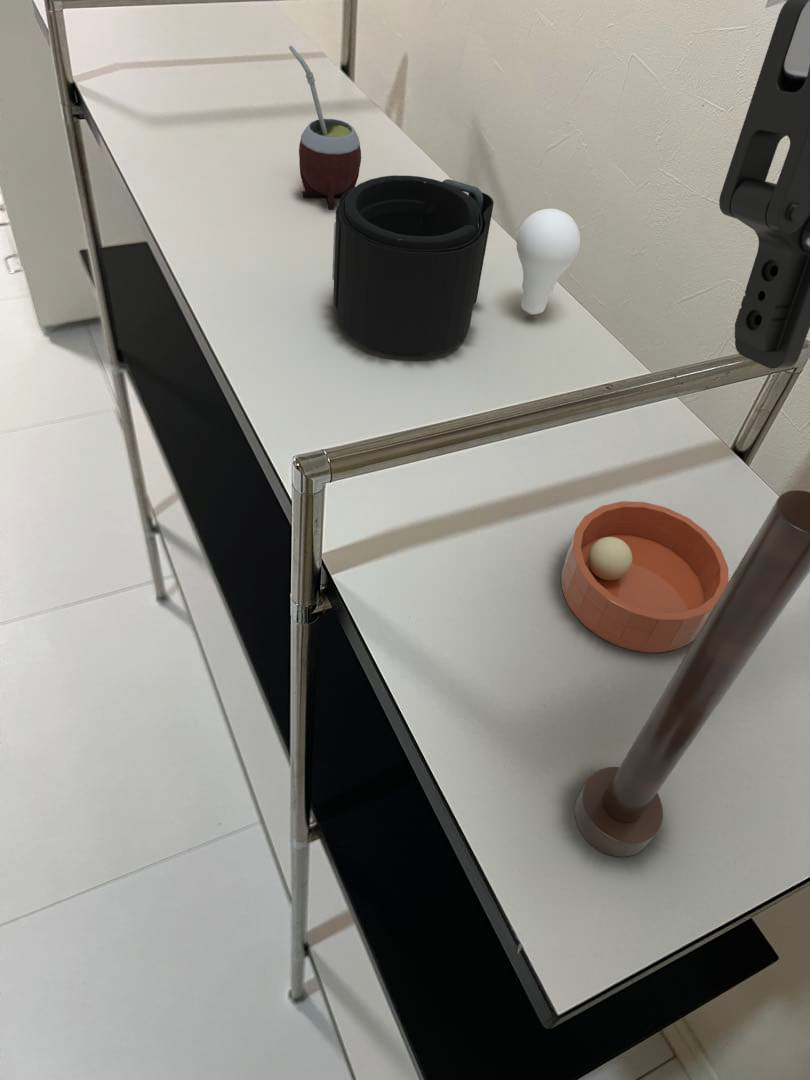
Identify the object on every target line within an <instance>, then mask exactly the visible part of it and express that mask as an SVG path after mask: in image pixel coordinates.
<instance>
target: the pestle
mask: <svg viewBox="0 0 810 1080" xmlns="http://www.w3.org/2000/svg"><path fill="white" fill-rule="evenodd" d="M809 574H810V491H807V490H803V489H791V490H788V491H785V492H783V493H781V494H780V495H779V497H777V499H776V501H775V503H774V504H773V506H772V507H771V509H770V511H769V513H768V515H767V516H766V518H765V520H764V521H763V523H762V524H761V526H760V528H759V530H758V531H757V533H756V535H755V537H754V538H753V540H752V542H751V543H750V545H749V547H748V548H747V550H746V552H745V553H744V555H743V557H742V559H741V561H740V562H739V564H738V565H737V567H736V569H735V570H734V572H733V574H732V576H731V577H730V579H729V580H728V584H727V586H726V587H725V589H724V591H723V593H722V594H721V596H720V598H719V599H718V601H717V603H716V604H715V606H714V608H713V610H712V611H711V613H710V615H709V616H708V618H707V620H706V621H705V623H704V625H703V626H702V628H701V630H700V632H699V633H698V635H697V637H696V638H695V640H693V641H692V642H691V643H692V644H691V645H690V647H689V649H688V650H687V652H686V654H685V655H684V657H683V659H682V661H681V662H680V664H679V666H678V667H677V669H676V670H675V672H674V674H673V675H672V677H671V679H670V681H669V683H668V684H667V686H666V687H665V689H664V691H663V692H662V694H661V696H660V698H659V699H658V701H657V702H656V704H655V706H654V708H653V709H652V712H651V713H650V715H649V716H648V718H647V720H646V722H644V725H643V726H642V728H641V729H640V731H639V732H638V735H637V737H636V738H635V740H634V742H633V743H632V745H631V747H630V748H629V750H628V752H627V753H626V756H625V757H624V758H623V760H622V762H621V764H619V766H608V767H604V768H600V769H599V770H597V771H595V772H593V773H592V774H591V775H590V776H589V777H588V778H587V780H586V782H585V784H584V786H583V787H582V789H581V791H580V792H579V794H578V796H577V798H576V801H575V805H574V817H575V822H576V824H577V828H578V829H579V831H580V833H581V835H582V836H583V838H584V839H585V840H586V841H587V843H589V844H590V845H591V846H592V847H594V849H596V850H598V851H600V852H601V853H603V854H605V855H608V856H613V857H621V858H623V857H632V856H634V855H637V854H639V853H641V852H642V851H643V850H644V849H645V848H647V846H648V845H649V843H650V842H651V841H652V840H653V838H654V837H655V836H656V834H657V833H658V832H659V829H660V827H661V825H662V822H663V817H664V808H663V804H662V801H661V797H660V795H659V794H658V793H659V791H660V789H661V788H662V787H663V785H664V784H665V782H666V781H667V779H668V778H669V776H670V775H671V774H672V772H673V770H674V769H675V768H676V766H677V764H678V763H679V762H680V760H681V759H682V757H683V756H684V754H685V753H686V751H687V750H688V749H689V747H690V746H691V745H692V743H693V741H694V740H695V739H696V737H697V736H698V735H699V733H700V731H702V728H703V727H704V725H705V724H706V722H707V721H708V720H709V719H710V717H711V715H712V714H713V712H714V711H715V710H716V708H717V707H718V706H719V704H720V702H721V701H722V699H723V698H724V697H725V696H726V694H727V692H728V691H729V689H730V688H731V687H732V685H733V683H734V682H736V679H737V678H738V676H739V675H740V674H741V672H742V670H743V669H744V667H746V665H747V664H748V662H749V660H751V658H752V656H753V655H754V654H755V652H756V651H757V649H758V648H759V646H760V644H761V643H762V641H764V639H765V637H766V636H767V634H768V633H769V632H770V630H771V628H773V626H774V624H775V623H776V621H777V620H778V619H779V617H780V616H781V614H782V612H784V610H785V608H786V607H787V606H788V604H789V603H790V601H791V600H792V598H793V597H794V595H795V594H796V593H797V591H798V589H800V587H801V585H802V584H803V583H804V581H805V579H806V578H807V577H808V575H809Z"/></svg>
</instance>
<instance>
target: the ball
mask: <svg viewBox="0 0 810 1080" xmlns="http://www.w3.org/2000/svg"><path fill="white" fill-rule="evenodd" d="M588 563H589V566H590V569H591V570H592V572H593V573H594V574H595V575H596V576H598V577H600V578H602V579H605V580H616V579H619V578H621V577H623V576H624V575H625V574H626V573H627V572H628V571H629V569H630V567H631V564H632V553H631V550H630V548H629V547H628V545H627V544H626V543H625V542H624V541H622V540H620V539H618V538H615V537H605V538H602V539H600V540H598V541H596V542H595V543H594V544H593V545H592V547H591V548H590V550H589V554H588Z"/></svg>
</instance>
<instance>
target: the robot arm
mask: <svg viewBox="0 0 810 1080" xmlns="http://www.w3.org/2000/svg"><path fill="white" fill-rule="evenodd" d="M785 137H788V139H789V147H788V151H787V152H786V156H785V159H784V161H783V165H782V168H781V170H780V173H779V176H778V178H777V181H776V183H774V182H770V181H767V178H768V175H769V171H770V169H771V166H772V163H773V160H774V157H775V154H776V151H777V149H778V146H779V143H780V142H781V140H782V139H783V138H785ZM718 199H719V200H718V204H719V210H720V212H721V213H722V214H723V215H724V216H727V217H731V218H734V219H736V220H738V221H740V222H741V223H743V224H744V225H746V226H747V227H749V228H750V229H752V230H753V231H754V233H755V235H756V237H757V239H758V246H757V252H756V256H755V258H754V262H753V265H752V269H751V271H750V275H749V278H748V281H747V283H746V288H745V291H744V295H743V297H742V299H741V304H740V306H741V307H740V308H739V309H738V313H737V316H736V319H735V323H734V345H735V350H736V352H737V353H738V354H739V355H740V356H742V357H744V358H747V359H748V360H751V361H753V362H754V363H757V364H759V365H761V366H763V367H766V368H767V369H773V370H774V369H785V368H791V367H793V366H795V364H796V363H797V362H798V361H799V358H800V356H801V353H802V351H803V347H804V344H805V342H806V339H807V337H808V333H809V331H810V0H786V1H785V3H784V4H783V5H782V8H781V9H780V11H779V13H778V16H777V20H776V23H775V26H774V28H773V31H772V35H771V37H770V40H769V44H768V47H767V50H766V53H765V56H764V59H763V62H762V66H761V68H760V72H759V75H758V78H757V81H756V84H755V87H754V90H753V93H752V97H751V99H750V102H749V105H748V109H747V111H746V115H745V117H744V121H743V124H742V127H741V130H740V133H739V136H738V139H737V143H736V146H735V149H734V152H733V155H732V158H731V160H730V164H729V168H728V170H727V174H726V177H725V179H724V182H723V185H722V189H721V191H720V195H719V198H718Z"/></svg>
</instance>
